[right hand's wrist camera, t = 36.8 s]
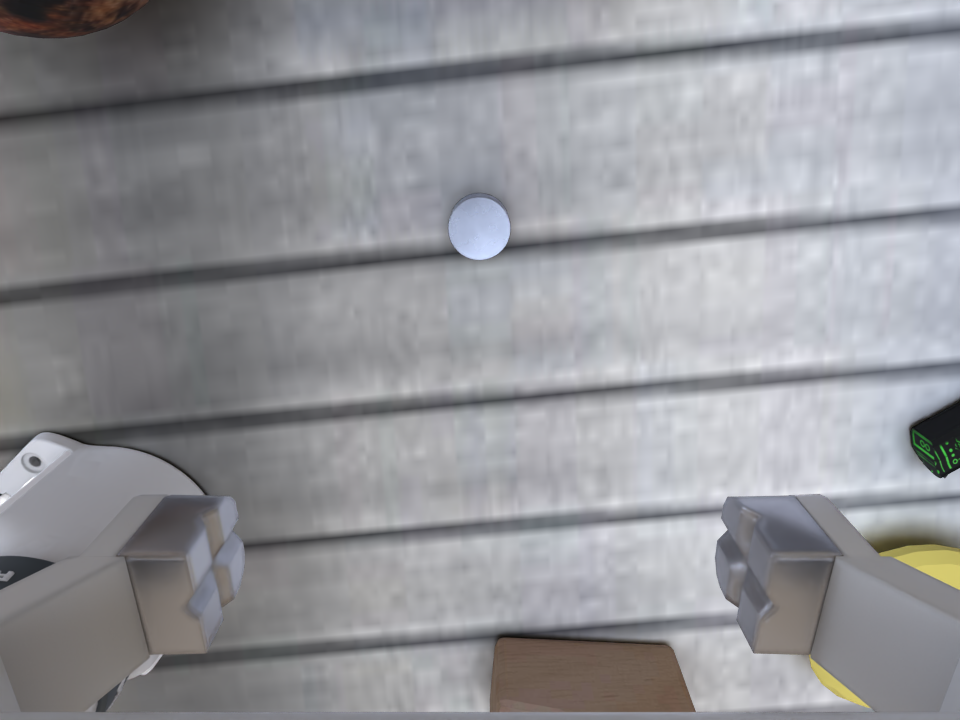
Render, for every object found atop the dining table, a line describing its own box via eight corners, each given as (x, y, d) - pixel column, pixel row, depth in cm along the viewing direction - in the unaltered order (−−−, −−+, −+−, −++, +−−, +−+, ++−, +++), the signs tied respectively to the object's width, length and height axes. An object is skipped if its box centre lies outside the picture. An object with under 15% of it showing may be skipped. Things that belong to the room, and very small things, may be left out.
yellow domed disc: (950, 681, 54) (1015, 759, 48) (770, 673, 54) (810, 750, 47) (1019, 530, 48) (1104, 595, 42) (818, 519, 48) (872, 583, 41)
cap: (450, 191, 39) (448, 195, 37) (511, 194, 39) (512, 198, 37) (448, 251, 41) (447, 258, 39) (507, 254, 41) (508, 261, 39)
